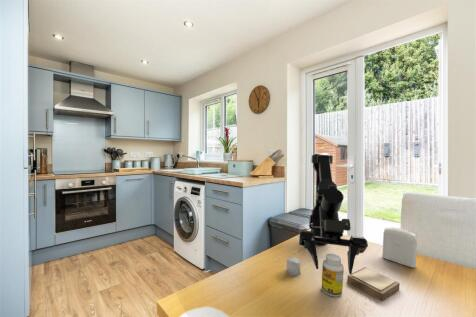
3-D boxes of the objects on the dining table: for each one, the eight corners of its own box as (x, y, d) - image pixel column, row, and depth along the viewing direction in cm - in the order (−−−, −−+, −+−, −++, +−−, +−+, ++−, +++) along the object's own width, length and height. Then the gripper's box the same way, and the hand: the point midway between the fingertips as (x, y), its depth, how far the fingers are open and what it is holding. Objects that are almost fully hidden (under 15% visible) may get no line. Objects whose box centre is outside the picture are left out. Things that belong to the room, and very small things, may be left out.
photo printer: (380, 257, 85) (382, 226, 84) (384, 254, 88) (386, 223, 87) (413, 269, 77) (416, 234, 76) (417, 265, 80) (419, 232, 79)
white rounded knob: (283, 272, 73) (284, 260, 73) (290, 267, 76) (291, 256, 76) (296, 278, 70) (296, 265, 70) (302, 272, 73) (303, 260, 73)
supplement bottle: (317, 287, 66) (318, 253, 65) (332, 284, 67) (334, 251, 67) (330, 299, 60) (332, 262, 60) (346, 295, 62) (348, 260, 61)
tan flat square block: (347, 281, 69) (347, 274, 68) (364, 272, 74) (365, 266, 74) (382, 300, 60) (382, 292, 60) (399, 289, 65) (399, 281, 65)
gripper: (300, 204, 69) (300, 255, 58) (367, 210, 64) (380, 266, 54) (299, 221, 77) (298, 269, 66) (358, 227, 72) (367, 280, 62)
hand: (333, 271), depth 62 cm, fingers open, 8 cm apart
